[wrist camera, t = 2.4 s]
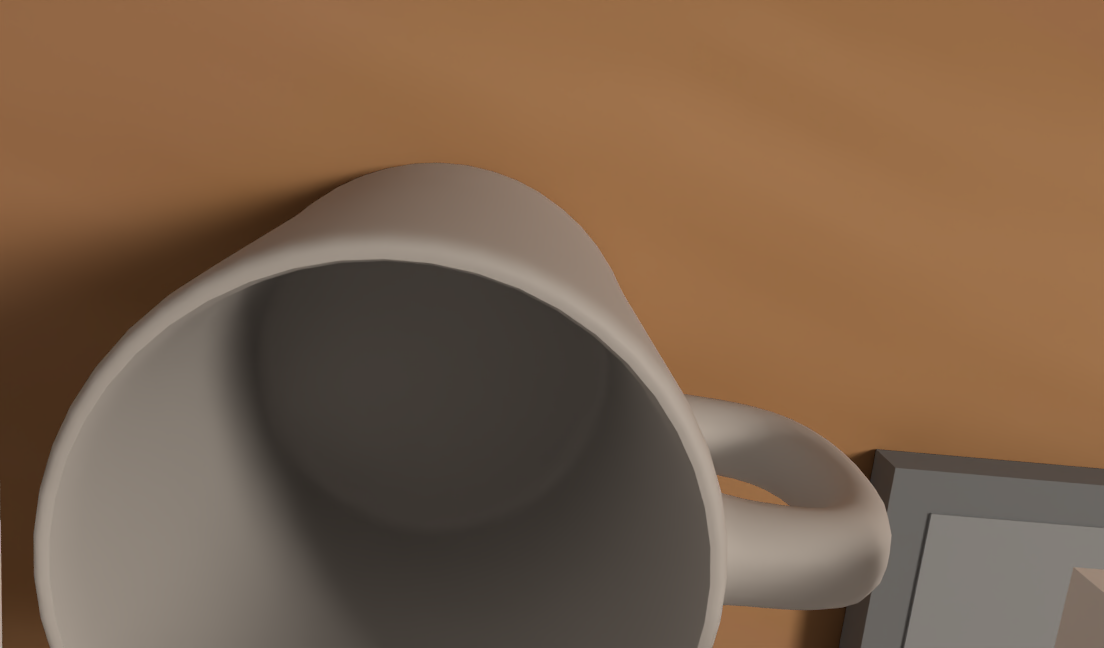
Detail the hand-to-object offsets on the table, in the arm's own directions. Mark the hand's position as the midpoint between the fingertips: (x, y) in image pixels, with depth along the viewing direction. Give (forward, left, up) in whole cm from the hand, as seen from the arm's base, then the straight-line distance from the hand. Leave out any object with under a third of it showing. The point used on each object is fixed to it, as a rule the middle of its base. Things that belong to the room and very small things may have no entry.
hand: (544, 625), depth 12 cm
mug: (0, 0, -11) cm, 11 cm away
